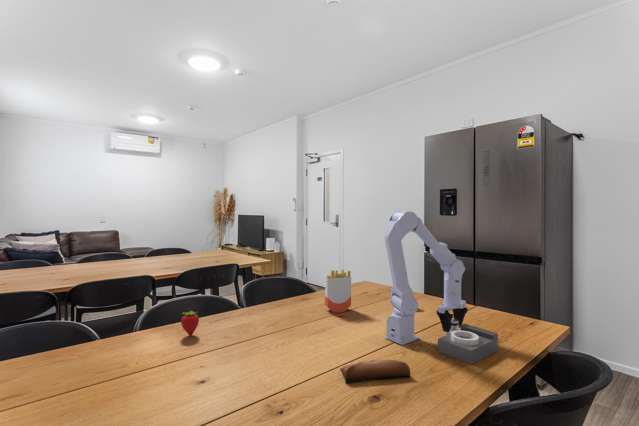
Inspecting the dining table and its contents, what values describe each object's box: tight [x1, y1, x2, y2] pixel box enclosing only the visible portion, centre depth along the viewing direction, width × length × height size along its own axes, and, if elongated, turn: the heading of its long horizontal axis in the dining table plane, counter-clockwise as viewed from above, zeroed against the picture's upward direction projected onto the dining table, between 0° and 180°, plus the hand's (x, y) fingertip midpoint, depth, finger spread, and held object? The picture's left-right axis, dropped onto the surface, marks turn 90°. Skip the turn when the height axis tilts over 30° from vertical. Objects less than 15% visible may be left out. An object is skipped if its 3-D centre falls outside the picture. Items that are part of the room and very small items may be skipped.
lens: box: [445, 318, 460, 336], centre depth 121 cm, size 4×4×5 cm
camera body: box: [437, 323, 499, 365], centre depth 107 cm, size 16×11×6 cm
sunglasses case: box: [339, 359, 411, 383], centre depth 92 cm, size 18×7×7 cm
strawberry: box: [180, 309, 200, 337], centre depth 119 cm, size 6×8×10 cm
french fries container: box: [324, 269, 352, 313], centre depth 149 cm, size 5×11×18 cm, turn 106°
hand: (452, 329), depth 121 cm, fingers open, 7 cm apart
